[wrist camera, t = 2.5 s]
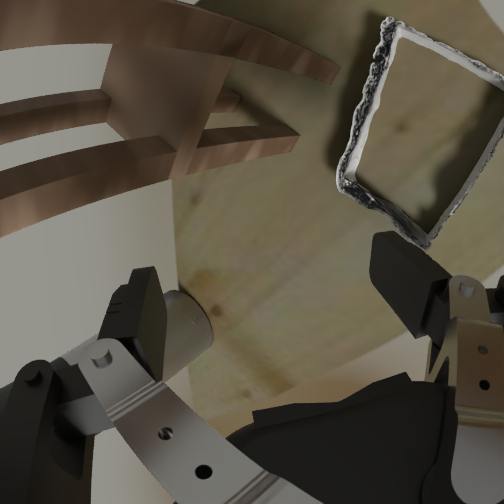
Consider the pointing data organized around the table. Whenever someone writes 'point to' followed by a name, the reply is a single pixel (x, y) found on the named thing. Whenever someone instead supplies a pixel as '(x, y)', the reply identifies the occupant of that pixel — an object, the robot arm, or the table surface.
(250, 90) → the table surface
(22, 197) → the walnut stand
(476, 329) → the robot arm
